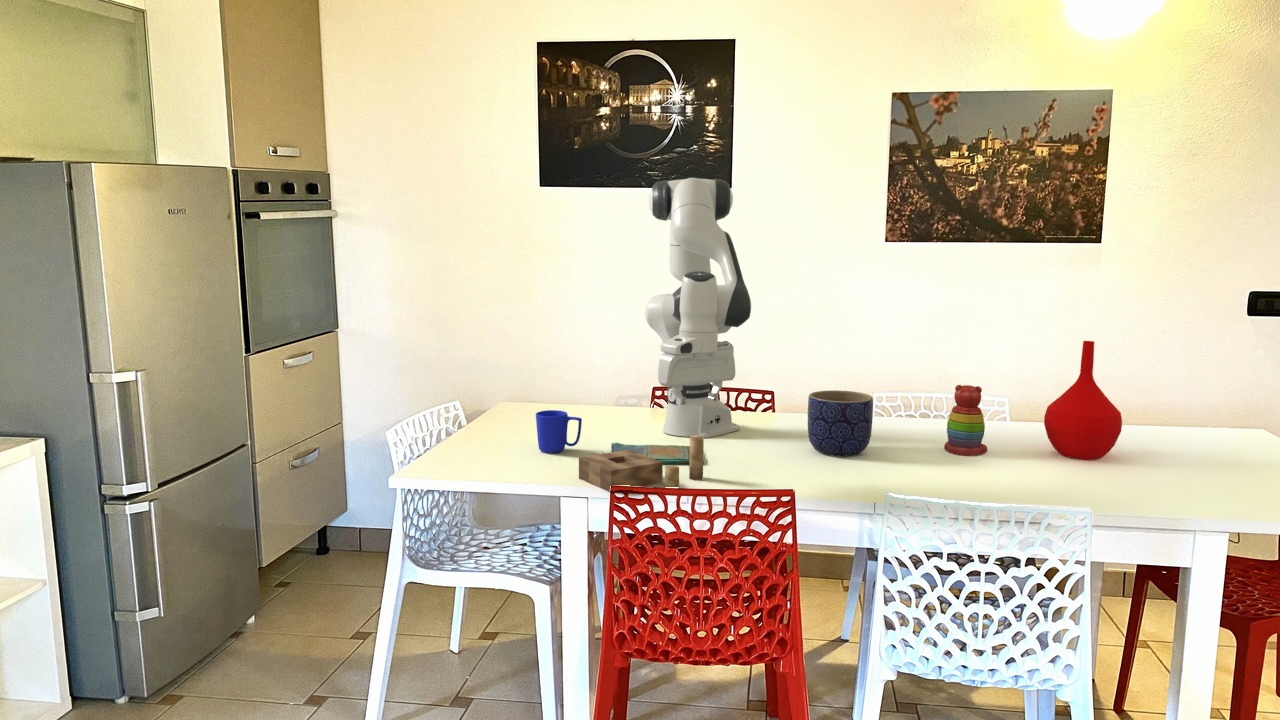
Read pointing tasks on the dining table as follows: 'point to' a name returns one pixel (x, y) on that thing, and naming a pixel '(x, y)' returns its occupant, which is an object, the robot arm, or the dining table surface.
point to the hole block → (620, 469)
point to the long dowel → (696, 457)
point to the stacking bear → (966, 423)
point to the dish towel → (659, 452)
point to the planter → (840, 422)
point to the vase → (1083, 416)
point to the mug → (554, 430)
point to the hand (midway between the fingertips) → (697, 402)
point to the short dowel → (671, 476)
